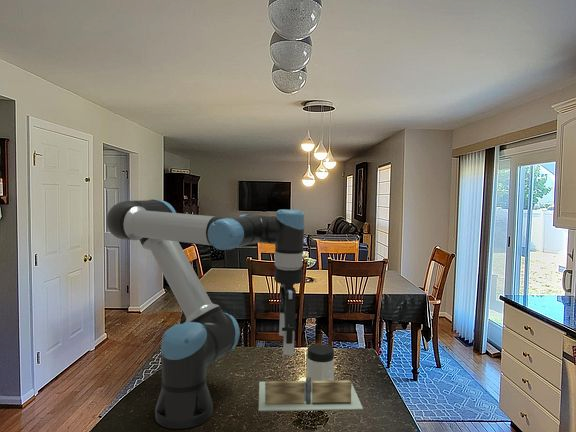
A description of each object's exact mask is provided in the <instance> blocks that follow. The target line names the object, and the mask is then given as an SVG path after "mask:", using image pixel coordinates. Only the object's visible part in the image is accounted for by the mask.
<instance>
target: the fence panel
mask: <svg viewBox="0 0 576 432" xmlns="http://www.w3.org/2000/svg"><path fill="white" fill-rule="evenodd" d="M304 381H305V380H292V381H291V380H284V381H283V380H281V381H279V380H278V381H277V380H272V381H267V380H266V381H264V382H265V403H304Z"/></svg>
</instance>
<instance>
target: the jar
mask: <svg viewBox="0 0 576 432" xmlns="http://www.w3.org/2000/svg"><path fill="white" fill-rule="evenodd" d="M334 358H335V349H334V348H333V347H332V346H331V345H328V344H322V343H317V344H316V343H315V344H311V345H309V346H308V347H307V353H306V375H305V376H306V378H307V377H310V378H311V391H312V381H335V377H334V376H335V359H334ZM306 378H305V379H306Z"/></svg>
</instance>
